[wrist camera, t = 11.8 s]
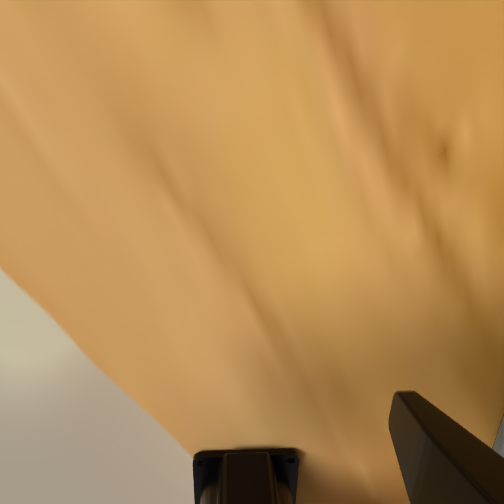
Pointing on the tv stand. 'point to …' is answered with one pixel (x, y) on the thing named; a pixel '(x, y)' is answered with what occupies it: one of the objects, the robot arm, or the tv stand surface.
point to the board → (500, 440)
